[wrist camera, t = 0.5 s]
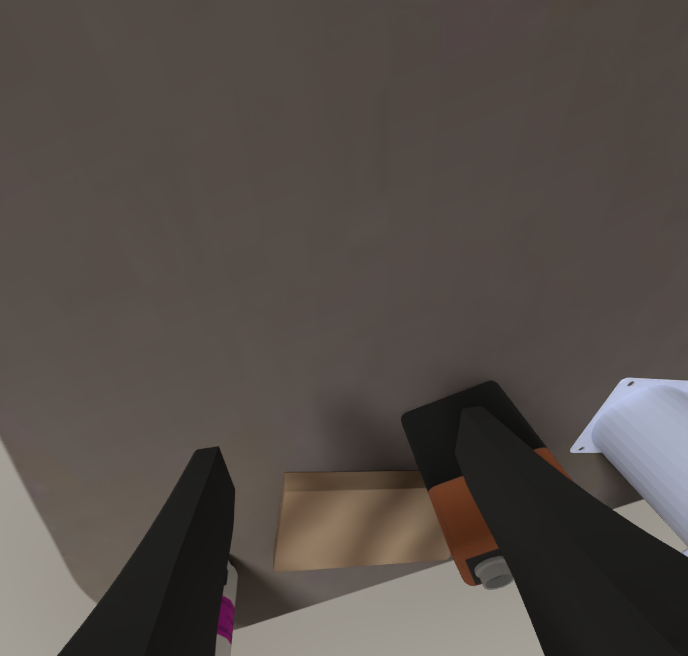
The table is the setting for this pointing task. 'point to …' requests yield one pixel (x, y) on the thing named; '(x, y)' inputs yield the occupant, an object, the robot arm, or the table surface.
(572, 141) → the table surface
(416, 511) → the wooden flat block
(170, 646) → the robot arm
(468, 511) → the battery
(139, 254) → the table surface
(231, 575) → the supplement can
